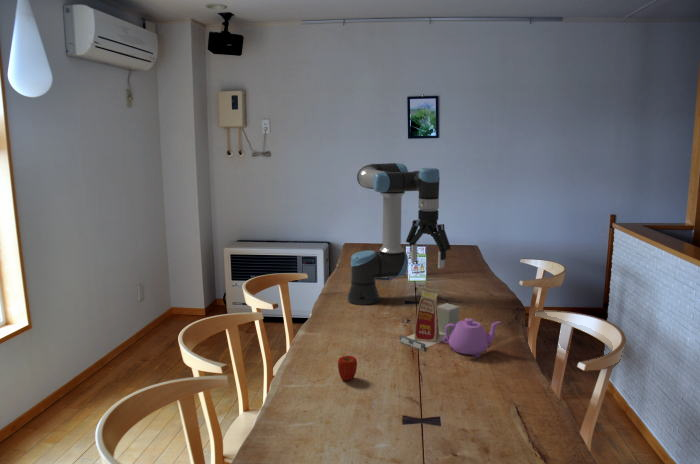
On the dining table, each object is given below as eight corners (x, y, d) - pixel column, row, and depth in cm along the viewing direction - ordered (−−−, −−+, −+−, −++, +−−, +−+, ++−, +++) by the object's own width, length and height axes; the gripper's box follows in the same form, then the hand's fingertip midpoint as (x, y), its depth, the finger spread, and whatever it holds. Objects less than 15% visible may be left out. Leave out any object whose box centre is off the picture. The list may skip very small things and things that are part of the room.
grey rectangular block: (436, 331, 212) (436, 306, 210) (446, 327, 216) (446, 303, 214) (448, 335, 208) (449, 310, 206) (458, 331, 212) (459, 306, 210)
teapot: (497, 346, 199) (499, 314, 197) (500, 362, 186) (502, 327, 183) (443, 343, 203) (443, 311, 201) (442, 358, 189) (442, 324, 187)
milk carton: (414, 340, 203) (414, 289, 199) (417, 331, 212) (417, 282, 208) (438, 342, 201) (439, 290, 197) (440, 333, 210) (441, 284, 206)
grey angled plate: (399, 342, 204) (399, 335, 204) (439, 327, 220) (439, 321, 219) (423, 351, 195) (423, 344, 195) (463, 335, 211) (464, 328, 211)
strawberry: (350, 385, 170) (350, 363, 168) (334, 380, 173) (333, 358, 172) (360, 377, 175) (360, 356, 174) (344, 373, 178) (344, 352, 177)
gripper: (397, 206, 209) (397, 260, 213) (448, 214, 190) (446, 272, 194) (410, 205, 214) (410, 256, 218) (461, 212, 195) (459, 268, 199)
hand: (427, 264), depth 206 cm, fingers open, 13 cm apart
